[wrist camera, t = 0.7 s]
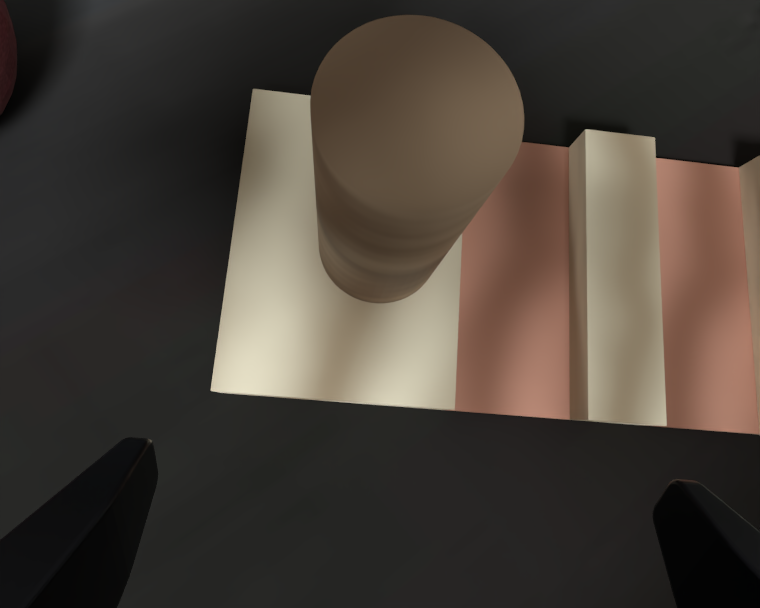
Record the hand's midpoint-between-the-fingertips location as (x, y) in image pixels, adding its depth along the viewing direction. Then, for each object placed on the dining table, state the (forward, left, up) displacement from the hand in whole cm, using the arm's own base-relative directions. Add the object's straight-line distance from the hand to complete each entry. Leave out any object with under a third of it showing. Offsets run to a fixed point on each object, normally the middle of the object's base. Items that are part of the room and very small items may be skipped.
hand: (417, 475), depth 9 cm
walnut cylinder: (+5, -6, -11) cm, 14 cm away
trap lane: (-2, -13, -13) cm, 19 cm away
